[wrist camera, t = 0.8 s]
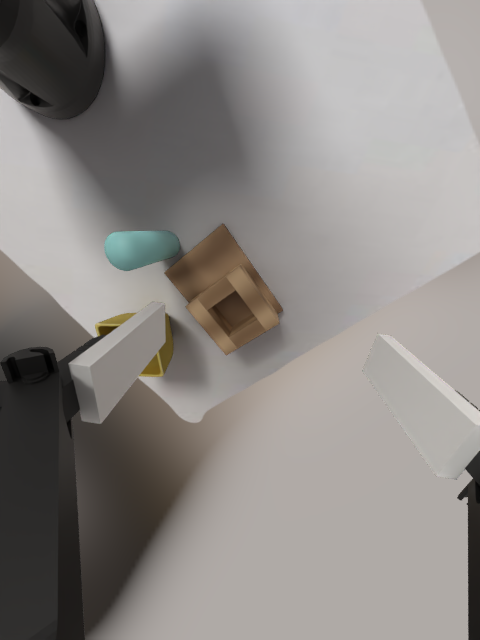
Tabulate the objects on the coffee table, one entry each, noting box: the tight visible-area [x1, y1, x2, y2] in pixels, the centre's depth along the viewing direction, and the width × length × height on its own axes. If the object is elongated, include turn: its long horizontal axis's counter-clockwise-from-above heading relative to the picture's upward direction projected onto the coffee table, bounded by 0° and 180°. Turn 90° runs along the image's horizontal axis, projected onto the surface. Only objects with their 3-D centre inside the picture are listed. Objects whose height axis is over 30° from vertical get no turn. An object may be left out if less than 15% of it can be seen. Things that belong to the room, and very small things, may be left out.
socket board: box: [164, 224, 283, 355], centre depth 34 cm, size 16×12×5 cm
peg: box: [104, 231, 180, 271], centre depth 29 cm, size 4×4×12 cm
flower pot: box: [95, 313, 173, 377], centre depth 36 cm, size 9×9×9 cm
